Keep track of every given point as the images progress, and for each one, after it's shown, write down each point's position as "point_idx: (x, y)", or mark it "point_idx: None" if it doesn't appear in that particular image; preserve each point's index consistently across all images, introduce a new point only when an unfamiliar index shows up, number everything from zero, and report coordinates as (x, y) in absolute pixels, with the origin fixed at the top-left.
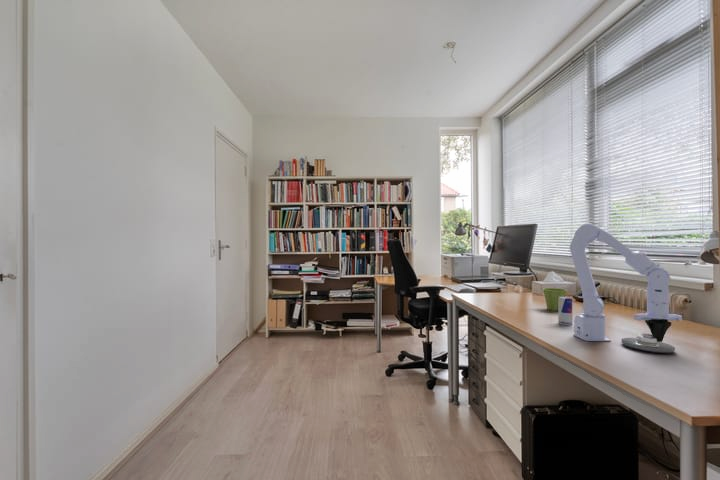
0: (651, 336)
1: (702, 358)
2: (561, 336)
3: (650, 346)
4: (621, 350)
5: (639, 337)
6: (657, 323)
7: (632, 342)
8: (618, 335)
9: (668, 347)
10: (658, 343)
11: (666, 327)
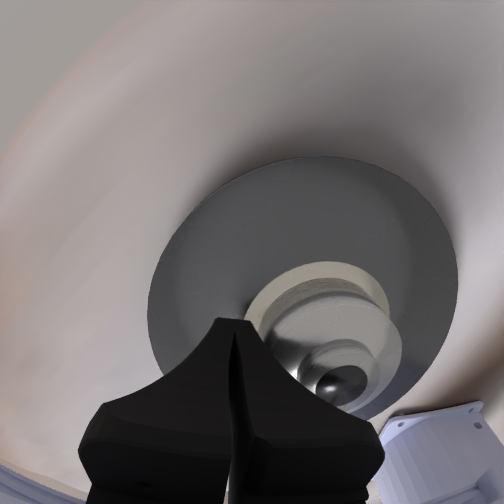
0: (336, 349)
1: (116, 81)
2: None
3: (368, 269)
4: (488, 280)
5: (396, 363)
6: (377, 442)
7: None
8: None
9: (236, 233)
10: None
11: (184, 395)
